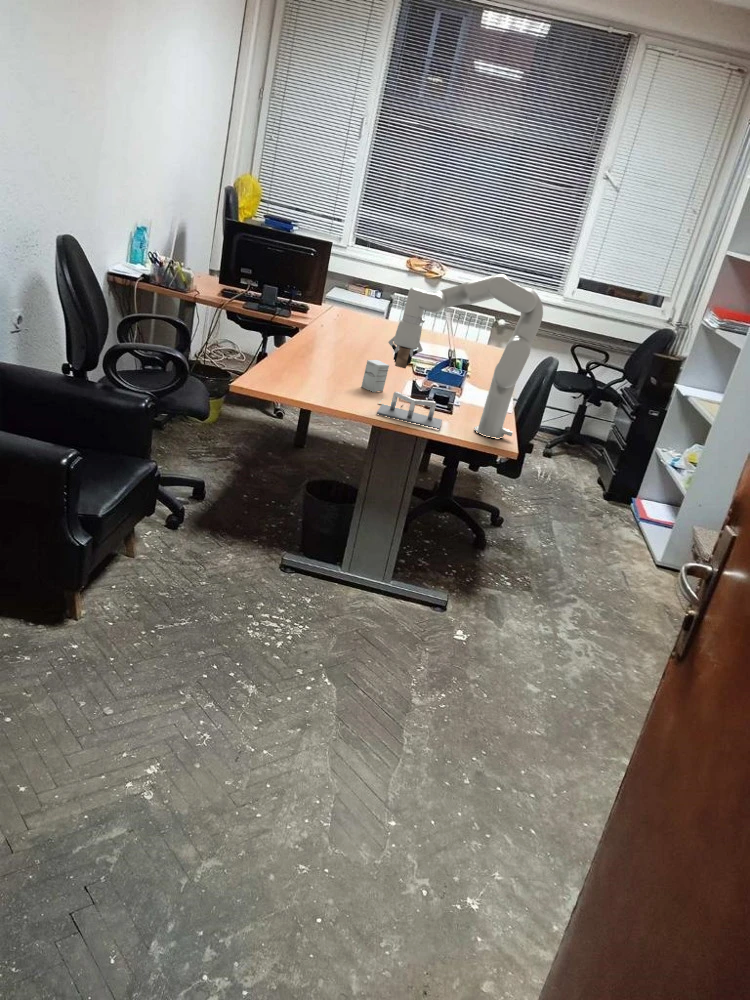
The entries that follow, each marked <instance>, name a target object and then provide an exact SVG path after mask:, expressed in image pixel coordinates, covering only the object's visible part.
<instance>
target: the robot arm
mask: <svg viewBox="0 0 750 1000" xmlns="http://www.w3.org/2000/svg"><path fill="white" fill-rule="evenodd" d="M493 299H495V300H497V301H498V302H500V303H502V304H504V305H505V306H508V307H509V308H511V309H513V310H515V311H516V312H519V313H520V317H519V318H518V321H517V323H516V325H515V328H514V330H513V332H512V334H511V336H510V338H509V340H508V341H507V343H506V346H505V348H504V351H503V353H502V354H501V357H500V359H499V361H498V363H497V364H496V366H495V368H494V371H493V375H492V379H491V382H490V386H489V389H488V393H487V396H486V399H485V402H484V407H483V409H482V410H483V411H482V413H481V417H480V421H479V424H478V425H477V426H474V428H473V430H474V429H475V431H477V432H478V433H481V434H483V435H486V436H490V437H496V438H500V437H503V436H504V435H506V436H507V437H512V436H513V431H510V429H506V428H505V427H504V423H505V421H506V416H507V413H508V409H509V406H510V403H511V400H512V397H513V394H514V390H515V388H516V387H515V386H516V383H517V381H519V378H520V376H521V374H522V372H523V369H524V367H525V365H526V363H527V361H528V359H529V358H530V357H529V356H530V354H531V348H532V345H533V342H534V340H535V338H536V336H537V334H538V331H539V329H540V327H541V323H542V321H543V316H544V307H543V303H542V300H541V298H540V296H539V295H538V293H537V292H536V291H535V290H534V289H533V288H530V287H523V286H521V285H519V284H517V283H516V282H513V281H511V279H510V278H509V277H508V276H507V275H506V274H504V273H497V274H493V275H489V276H486V277H482V278H479V279H475V280H474V279H473V280H470V281H466V282H463V283H461V284H459V285H456V286H455V285H454V286H451V287H450V286H449V287H446V288H444V289H440V290H437V291H436V290H435V291H433V292H428V291H426V290H425V289H423V288H419V287H410V288H409V290H408V293H407V298H406V303H405V306H404V311H403V314H402V319H400V321H399V323H398V325H397V328H396V331H395V335H394V336H393V337H392V338H391V339H390V340H389V341H388V344H389V345H390V347H392V349H393V352H394V355H393V360H394V363H396V359H397V355H398V350H399V347H400V346H401V347H405V348H409V349H410V354H409V357H408V361H407V366H409V364H410V365H411V363H412V359H413V357H414V356H415V355H417V354H418V353H419V354H420V353H421V352H423V347H422V344H421V336H422V331H423V325H422V324H425V322H426V320H425V319H424V318H423V315H424V311H427V312H429V313H432V314H437V313H440V312H441V311H442V310H444V309H448V308H451V307H455V306H460V305H474V304H477V303H481V302H485V301H488V300H493ZM475 431H474V432H475ZM504 437H505V436H504ZM504 437H503V438H504Z"/></svg>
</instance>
